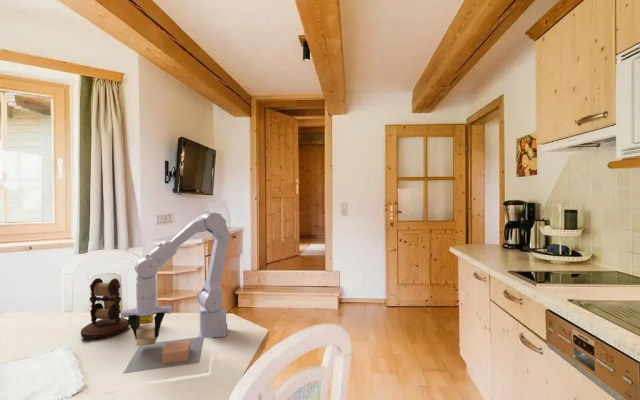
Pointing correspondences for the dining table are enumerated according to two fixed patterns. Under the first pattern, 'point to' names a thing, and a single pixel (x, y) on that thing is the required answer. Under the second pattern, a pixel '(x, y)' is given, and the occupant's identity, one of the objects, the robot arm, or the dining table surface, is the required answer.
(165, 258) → the robot arm
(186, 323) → the dining table surface
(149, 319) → the supplement bottle
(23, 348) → the dining table surface
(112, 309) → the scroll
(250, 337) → the dining table surface
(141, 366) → the build board
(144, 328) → the beech cube
